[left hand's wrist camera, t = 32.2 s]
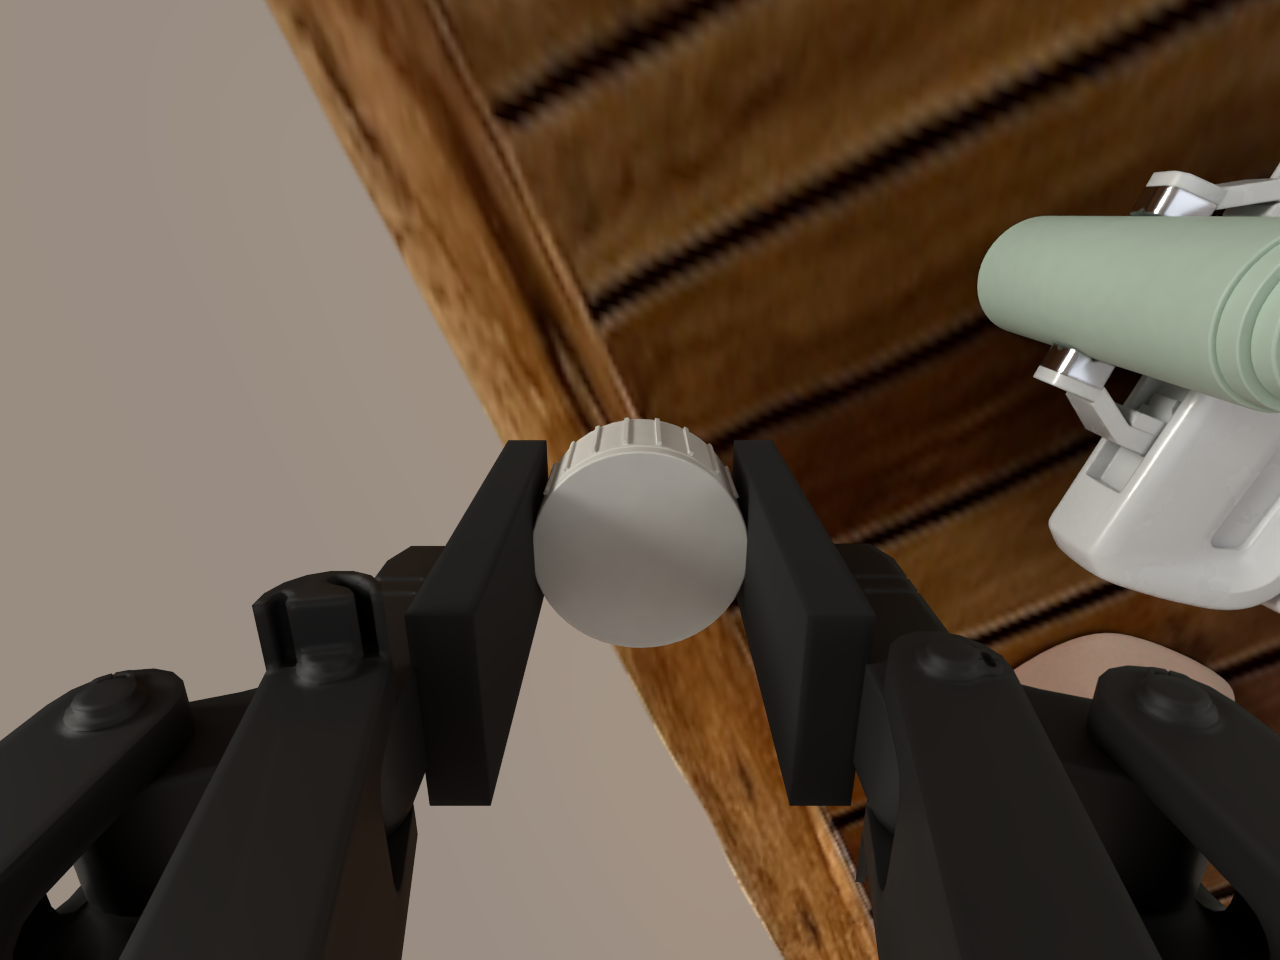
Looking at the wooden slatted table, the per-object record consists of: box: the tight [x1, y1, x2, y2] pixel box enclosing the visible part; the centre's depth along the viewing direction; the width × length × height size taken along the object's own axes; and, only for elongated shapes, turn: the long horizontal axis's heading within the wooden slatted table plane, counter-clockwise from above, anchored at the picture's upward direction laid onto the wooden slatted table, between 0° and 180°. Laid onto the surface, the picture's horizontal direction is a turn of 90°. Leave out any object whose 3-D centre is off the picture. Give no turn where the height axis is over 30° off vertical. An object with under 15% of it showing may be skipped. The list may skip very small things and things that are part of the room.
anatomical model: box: [1014, 633, 1235, 701], centre depth 38 cm, size 13×4×12 cm
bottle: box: [977, 216, 1280, 413], centre depth 22 cm, size 5×5×20 cm
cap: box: [533, 418, 747, 648], centre depth 13 cm, size 4×4×2 cm
